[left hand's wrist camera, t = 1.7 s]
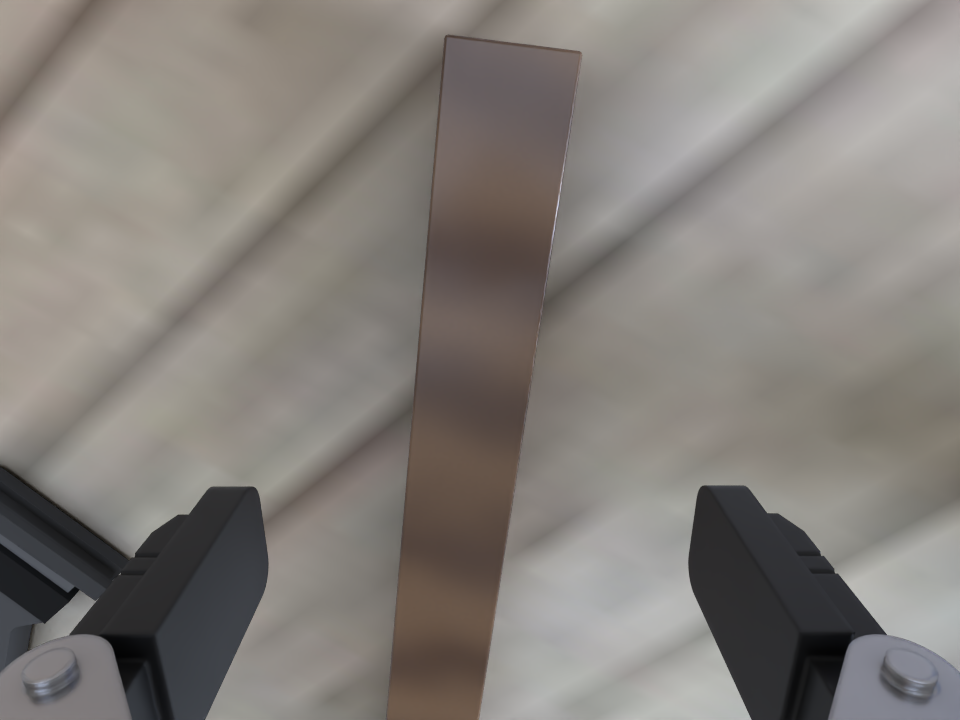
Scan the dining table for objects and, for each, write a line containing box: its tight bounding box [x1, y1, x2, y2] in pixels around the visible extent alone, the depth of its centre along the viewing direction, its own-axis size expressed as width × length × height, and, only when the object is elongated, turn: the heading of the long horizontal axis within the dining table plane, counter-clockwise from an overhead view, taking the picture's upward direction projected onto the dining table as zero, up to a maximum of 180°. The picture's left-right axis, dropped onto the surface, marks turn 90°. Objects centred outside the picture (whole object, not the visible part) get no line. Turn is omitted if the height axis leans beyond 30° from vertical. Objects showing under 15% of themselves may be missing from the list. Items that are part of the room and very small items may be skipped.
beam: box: [386, 35, 582, 720], centre depth 32 cm, size 57×4×7 cm, turn 173°
